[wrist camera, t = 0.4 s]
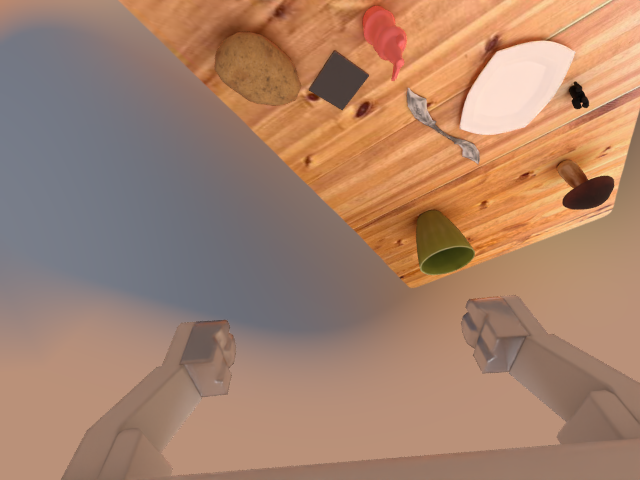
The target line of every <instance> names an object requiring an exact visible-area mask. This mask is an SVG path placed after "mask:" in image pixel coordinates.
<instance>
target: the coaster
mask: <svg viewBox="0 0 640 480" xmlns="http://www.w3.org/2000/svg"><path fill="white" fill-rule="evenodd" d="M368 77H369V74H367V73H366V72H364V71H363V70H362V69H360V68H359V67H357V66H356V65H355V64H353V63H352V62H350V61H349V60H348V59H346V58H345V57H343V56H342V55H341V54H339V53H338V52H336V51H335V50H334V52H333V53H332V55H331V56H330V58H329V59H328V61H327V62H326V64H325V65H324V67H323V68H322V70H321V72H320V73H319V75H318V76H317V78H316V79H315V81H314V82H313V84H312V85H311V87H310V88H309V91H311V92H313V93H314V94H316V95H318V96H319V97H321V98H323V99H324V100H326V101H328V102H329V103H331V104H333V105H334V106H336V107H338V108H340V109H341V110H343V109H344V108H345V106H346V105H347V104H348V102H349V101H350V100H351V99H352V97H353V96H354V95H355V93H356V92H357V91H358V89H359V88H360V87H361V86H362V84H363V83H364V82H365V80H366V79H367V78H368Z"/></svg>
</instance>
